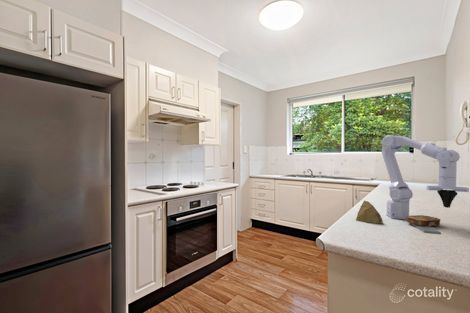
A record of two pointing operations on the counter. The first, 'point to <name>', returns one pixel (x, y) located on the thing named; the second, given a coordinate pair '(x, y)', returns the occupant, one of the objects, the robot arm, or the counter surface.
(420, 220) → the tin
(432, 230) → the gray sheet
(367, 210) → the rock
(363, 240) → the counter surface
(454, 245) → the counter surface
